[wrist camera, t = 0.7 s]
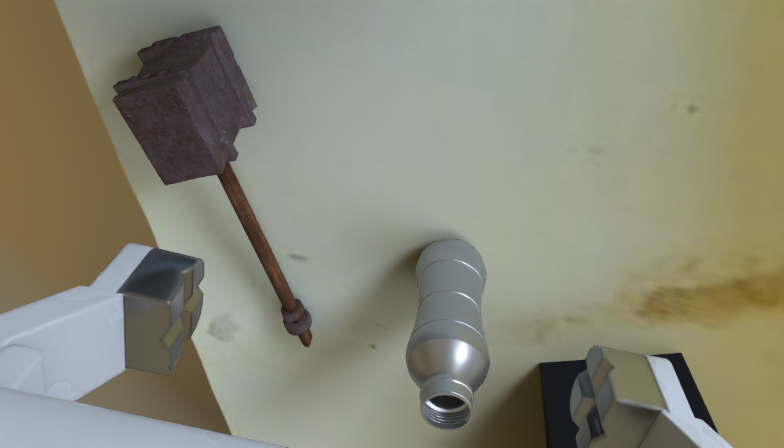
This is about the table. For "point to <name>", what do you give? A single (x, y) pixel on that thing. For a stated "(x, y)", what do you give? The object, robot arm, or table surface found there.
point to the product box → (559, 387)
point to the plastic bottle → (448, 333)
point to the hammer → (201, 132)
